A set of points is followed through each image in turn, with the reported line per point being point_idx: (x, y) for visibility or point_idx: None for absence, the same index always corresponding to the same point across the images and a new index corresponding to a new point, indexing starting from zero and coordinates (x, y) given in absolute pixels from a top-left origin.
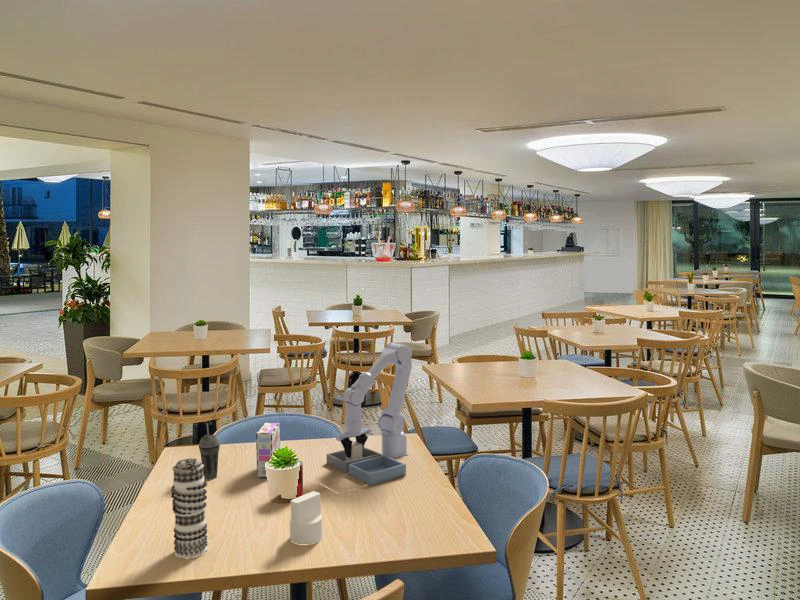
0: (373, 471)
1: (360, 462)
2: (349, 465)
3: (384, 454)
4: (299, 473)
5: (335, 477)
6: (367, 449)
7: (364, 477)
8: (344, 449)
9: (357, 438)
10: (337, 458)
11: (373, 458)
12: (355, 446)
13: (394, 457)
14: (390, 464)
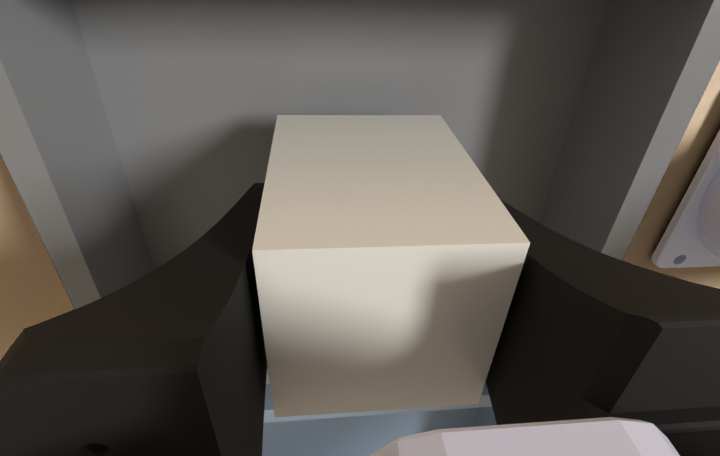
0: None
1: (267, 419)
2: None
3: (718, 207)
4: None
5: (30, 315)
6: (633, 180)
7: None
8: (209, 235)
9: (559, 353)
10: (65, 236)
11: (424, 408)
12: (339, 402)
13: (708, 266)
14: (492, 417)
